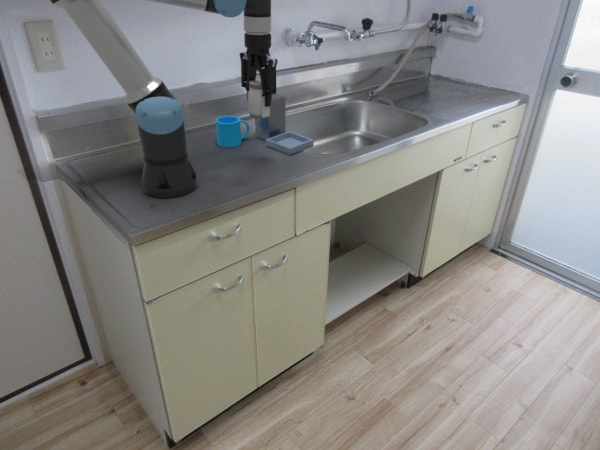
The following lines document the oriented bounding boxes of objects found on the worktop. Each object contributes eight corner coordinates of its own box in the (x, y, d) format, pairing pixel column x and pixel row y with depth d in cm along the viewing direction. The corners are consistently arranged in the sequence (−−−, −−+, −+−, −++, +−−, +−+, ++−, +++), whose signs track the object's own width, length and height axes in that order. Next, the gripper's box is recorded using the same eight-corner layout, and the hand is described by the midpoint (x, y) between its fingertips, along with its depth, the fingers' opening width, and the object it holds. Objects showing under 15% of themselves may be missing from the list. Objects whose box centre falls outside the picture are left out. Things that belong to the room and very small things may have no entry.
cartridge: (258, 119, 136) (257, 85, 131) (246, 115, 139) (245, 81, 134) (271, 115, 139) (271, 82, 134) (259, 111, 143) (258, 78, 137)
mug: (223, 149, 152) (221, 125, 148) (213, 141, 158) (211, 118, 154) (255, 142, 158) (254, 119, 153) (244, 135, 163) (243, 112, 159)
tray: (290, 155, 148) (290, 148, 147) (265, 146, 155) (265, 139, 153) (313, 146, 155) (313, 139, 154) (289, 137, 162) (289, 131, 160)
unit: (269, 141, 158) (268, 99, 150) (255, 136, 162) (254, 94, 154) (286, 135, 163) (285, 94, 156) (272, 130, 167) (271, 90, 160)
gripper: (290, 35, 124) (289, 118, 136) (246, 27, 135) (248, 105, 147) (270, 38, 120) (270, 124, 132) (226, 29, 130) (230, 109, 142)
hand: (258, 114), depth 139 cm, fingers closed on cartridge, 5 cm apart
